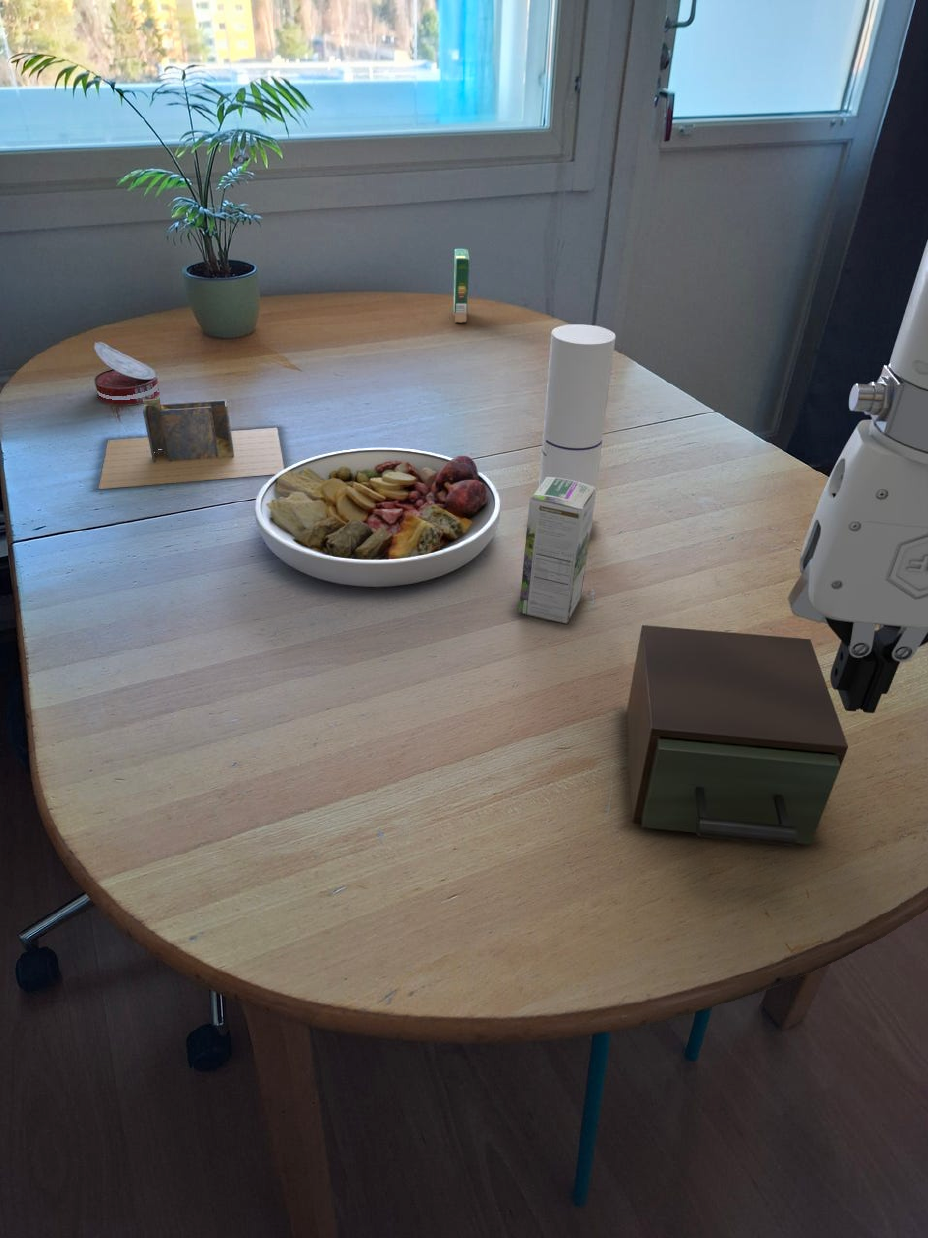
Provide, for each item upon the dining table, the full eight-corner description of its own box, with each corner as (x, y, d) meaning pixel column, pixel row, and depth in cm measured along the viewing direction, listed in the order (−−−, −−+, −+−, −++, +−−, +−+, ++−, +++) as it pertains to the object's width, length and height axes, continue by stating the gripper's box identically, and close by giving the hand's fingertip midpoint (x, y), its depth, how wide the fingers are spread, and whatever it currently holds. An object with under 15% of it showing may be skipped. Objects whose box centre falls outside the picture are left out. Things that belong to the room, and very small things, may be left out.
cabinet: (812, 841, 71) (848, 746, 65) (632, 822, 72) (651, 728, 66) (781, 728, 82) (810, 638, 76) (626, 714, 83) (641, 624, 77)
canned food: (126, 410, 152) (131, 351, 151) (170, 415, 148) (176, 354, 147) (72, 399, 142) (77, 336, 141) (118, 404, 138) (123, 339, 136)
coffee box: (467, 323, 182) (469, 257, 174) (454, 323, 182) (455, 257, 174) (466, 312, 188) (468, 248, 181) (453, 312, 188) (454, 247, 181)
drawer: (823, 891, 66) (856, 811, 61) (645, 872, 67) (663, 792, 62) (782, 737, 80) (806, 662, 75) (634, 724, 81) (648, 648, 76)
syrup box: (533, 587, 101) (543, 473, 93) (583, 599, 99) (597, 484, 91) (518, 613, 97) (526, 496, 88) (569, 626, 95) (583, 508, 87)
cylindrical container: (560, 548, 108) (581, 348, 94) (524, 524, 113) (538, 330, 99) (602, 532, 112) (628, 337, 97) (565, 509, 117) (585, 320, 102)
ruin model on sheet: (98, 489, 118) (81, 421, 113) (108, 440, 131) (93, 376, 125) (285, 473, 123) (278, 407, 118) (277, 427, 136) (270, 366, 131)
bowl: (325, 630, 93) (319, 568, 89) (222, 513, 113) (214, 458, 109) (546, 554, 107) (552, 497, 103) (420, 462, 127) (420, 411, 123)
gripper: (819, 434, 41) (738, 727, 51) (1159, 456, 39) (1003, 751, 50) (789, 377, 47) (721, 650, 57) (1082, 395, 45) (958, 670, 56)
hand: (853, 696), depth 54 cm, fingers closed
